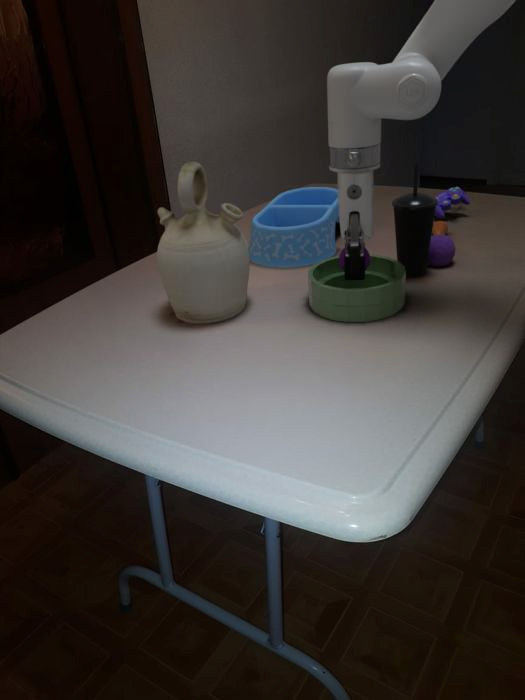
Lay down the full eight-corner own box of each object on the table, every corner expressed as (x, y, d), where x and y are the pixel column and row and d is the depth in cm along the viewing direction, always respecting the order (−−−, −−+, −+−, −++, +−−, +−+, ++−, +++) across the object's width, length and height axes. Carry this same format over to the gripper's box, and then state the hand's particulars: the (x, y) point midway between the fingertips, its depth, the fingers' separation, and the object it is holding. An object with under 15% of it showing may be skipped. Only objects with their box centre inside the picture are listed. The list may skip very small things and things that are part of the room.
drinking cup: (406, 286, 98) (410, 170, 88) (382, 272, 104) (383, 162, 94) (442, 276, 100) (450, 162, 90) (416, 264, 106) (421, 155, 96)
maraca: (457, 217, 116) (459, 242, 99) (450, 245, 119) (450, 274, 101) (428, 212, 117) (425, 236, 100) (422, 239, 120) (417, 267, 103)
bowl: (400, 284, 99) (401, 252, 96) (407, 324, 86) (409, 289, 83) (313, 286, 102) (311, 255, 99) (306, 326, 88) (304, 291, 85)
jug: (271, 298, 99) (257, 152, 86) (220, 337, 88) (196, 175, 75) (203, 287, 106) (182, 150, 94) (148, 321, 95) (116, 172, 83)
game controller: (444, 210, 121) (416, 193, 128) (446, 240, 127) (419, 221, 134) (482, 189, 122) (452, 172, 129) (482, 219, 128) (453, 202, 135)
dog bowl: (324, 272, 107) (323, 230, 103) (234, 268, 113) (229, 228, 109) (358, 219, 134) (358, 184, 130) (284, 218, 141) (281, 184, 136)
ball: (369, 268, 93) (370, 239, 90) (370, 279, 88) (370, 249, 86) (339, 268, 93) (338, 240, 91) (338, 280, 89) (338, 250, 87)
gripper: (382, 168, 74) (380, 293, 83) (378, 144, 88) (376, 253, 97) (326, 171, 75) (329, 294, 84) (331, 147, 90) (333, 254, 99)
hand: (354, 271), depth 91 cm, fingers closed on ball, 4 cm apart
